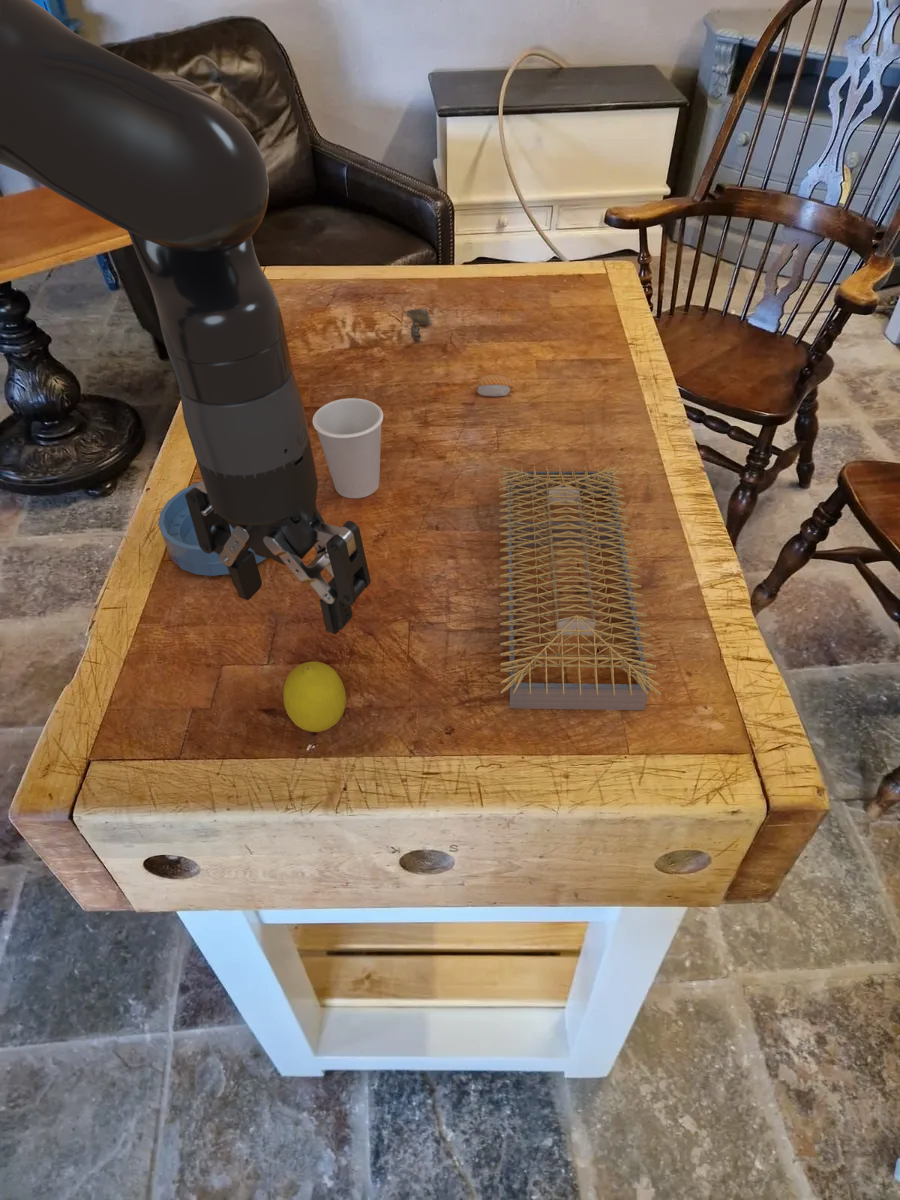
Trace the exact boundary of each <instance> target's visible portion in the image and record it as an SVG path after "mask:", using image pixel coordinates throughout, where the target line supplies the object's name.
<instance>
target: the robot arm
mask: <svg viewBox="0 0 900 1200" xmlns="http://www.w3.org/2000/svg"><path fill="white" fill-rule="evenodd" d="M0 165H2V166H4V167H7V168H9V169H11V170H14V171H16V172H18V173H21V174H22V175H25V176H26V177H28V178H31V179H32V180H34V181H36V183H39V184H41V185H42V186H44V187H45V188H47V189H49V190H51V191H52V192H54V193H56V194H57V195H59V196H61V197H63V198H65V199H67V200H68V201H70V202H72V203H74V204H76V205H78V206H79V207H81V208H83V209H85V210H87V211H89V212H91V213H92V214H95V215H96V216H98V217H100V218H102V219H103V220H106V221H107V222H110V223H112V224H113V225H116V226H117V227H120V228H121V229H123V230H125V231H127V233H128V236H129V239H130V241H131V243H132V246H133V249H134V251H135V254H136V256H137V259H138V262H139V264H140V266H141V269H142V271H143V274H144V276H145V278H146V281H147V283H148V285H149V288H150V291H151V294H152V296H153V301H154V304H155V305H154V306H155V309H156V313H157V317H158V321H159V326H160V331H161V335H162V339H163V343H164V346H165V348H166V352H167V355H168V359H169V362H170V365H171V368H172V372H173V374H174V378H175V380H176V384H177V386H178V392H179V396H180V402H181V408H182V414H183V421H184V424H185V428H186V431H187V435H188V437H189V440H190V443H191V446H192V450H193V453H194V456H195V459H196V463H197V465H198V469H199V472H200V475H201V479H202V480H201V481H199V482H200V483H198V482H197V483H198V484H197V485H196V486H195V487H194V488H192V489H191V490H190V491H189V492H188V493H186V495H185V498H186V501H187V504H188V508H189V511H190V515H191V518H192V522H193V525H194V529H195V532H196V536H197V539H198V543H199V546H200V548H201V549H202V550H203V551H204V552H206V553H208V554H210V553H212V552H213V551H214V552H216V553H217V554H219V559H220V561H221V562H222V563H223V564H224V565H226V566H227V567H228V570H229V573H230V574H229V578H230V579H231V583H232V586H233V587H234V589H235V590H236V592H237V596H238V598H240V599H243V600H245V601H249V600H251V598H253V596H255V595H256V594H257V592H259V590H260V589H261V587H262V585H263V581H262V577H261V574H260V573H261V572H260V570H259V567H258V564H257V563H256V559H255V556H254V552H255V554H256V555H258V556H261V557H266V559H272V560H273V561H275V562H277V563H279V564H281V565H284V566H286V567H287V568H288V570H290V572H291V573H292V574H293V576H295V578H296V579H297V580H298V581H299V582H300V583H302V584H309V585H310V587H311V588H312V589H313V590H314V591H315V593H316V594H317V595H318V596H319V598H320V599H319V604H320V608H321V614H322V618H323V623H324V628H325V631H326V632H328V633H331V634H333V635H337V634H338V633H339V632H340V631H342V630H343V629H344V628H345V627H346V626H347V624H348V623H349V622H350V620H351V619H352V617H353V610H352V606H353V605H354V604H355V602H356V601H357V599H358V598H359V597H360V595H362V593H363V592H364V591H365V589H368V587H369V585H370V584H371V583H372V582H371V581H372V580H371V577H370V571H369V567H368V562H367V557H366V553H365V547H364V543H363V539H362V534H361V530H360V527H359V526H358V524H357V523H355V522H354V521H352V520H347V521H345V522H344V524H342V526H337V525H333V524H329V523H327V522H325V520H324V519H323V516H322V515H321V513H320V512H319V510H318V508H317V504H316V503H317V493H318V488H319V487H318V486H319V482H318V475H317V470H316V464H315V459H314V453H313V448H312V443H311V437H310V433H309V428H308V427H309V426H308V422H307V417H306V413H305V412H306V411H305V407H304V401H303V398H302V394H301V391H300V388H299V385H298V383H297V380H296V376H295V374H294V370H293V366H292V360H291V355H290V354H291V353H290V350H289V344H288V340H287V334H286V329H285V324H284V321H283V320H284V319H283V315H282V311H281V308H280V304H279V301H278V299H277V295H276V293H275V290H274V289H273V286H272V285H271V283H270V281H269V280H268V278H267V276H266V275H265V273H264V271H263V269H262V267H261V265H260V262H259V260H258V258H257V255H256V251H255V247H254V242H253V237H252V236H253V235H254V234H255V233H256V231H257V230H258V229H259V227H260V225H261V224H262V222H263V219H264V217H265V216H266V215H265V214H266V213H267V208H268V203H269V194H270V183H269V176H268V171H267V167H266V163H265V160H264V158H263V155H262V152H261V151H260V148H259V146H258V144H257V142H256V140H255V139H254V137H253V136H252V134H251V133H250V131H249V130H248V129H247V127H246V126H245V125H244V124H243V123H242V121H240V119H239V118H237V116H235V114H233V113H232V112H231V111H229V109H227V108H226V107H225V106H224V105H222V103H220V102H218V100H216V99H215V98H214V97H213V96H211V95H210V94H209V93H208V92H206V91H205V90H204V89H203V88H201V87H199V86H198V85H196V84H195V83H194V82H191V81H189V80H188V79H185V78H183V77H180V76H178V75H174V74H171V73H164V72H151V71H149V70H147V69H145V68H144V67H141V66H139V65H137V64H135V63H134V62H131V61H129V60H127V59H125V58H124V57H122V56H120V55H117V54H116V53H114V52H112V51H110V50H108V49H106V48H104V47H102V46H100V45H98V44H96V43H94V42H92V41H90V40H88V39H86V38H84V37H83V36H81V35H79V34H77V33H76V32H75V31H73V30H71V29H70V28H69V27H67V26H66V25H65V24H64V23H63V22H61V21H60V20H59V19H58V18H56V17H55V16H54V15H53V14H52V13H50V12H49V11H48V10H46V9H45V8H44V7H42V6H40V5H39V4H38V3H37V2H35V1H33V0H0ZM229 524H230V525H231V527H232V528H233V529H234V530H233V532H232V535H231V530H230V526H229ZM213 525H214V527H215V528H214V529H213V530H212V531H211V528H212V526H213ZM249 548H251V549H252V550H253V551H254V552H252V551H249V550H248V549H249ZM312 548H314V549H315V551H316V555H315V557H314V558H313V559H312V560H311V561H310V562H309V564H308V565H306V563H305V562H304V561H303V560H302V559H303V558H305V557H306V555H308V553H309V552H310V551H311V549H312ZM323 570H326V572H327V573H328V574H329V575H330V577H331V580H329V581H328V582H327V581H326V580H325V578H324V577H323V576H322V572H323Z"/></svg>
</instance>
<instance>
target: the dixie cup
mask: <svg viewBox="0 0 900 1200" xmlns="http://www.w3.org/2000/svg"><path fill="white" fill-rule="evenodd" d="M383 420H384V412H383V409H382V408H381V406H379V405H377V404H376V403H375V402H373V401H370V400H367V399H364V398H358V397H357V398H356V397H351V398H341V399H336V400H333V401H330V402H327V403H326V404H324V405H322V406H321V407H320V408H319V409H317V410H316V412H315V413H314V414H313V417H312V426H313V428H314V430H316V432H317V436H318V439H319V442H320V445H321V448H322V451H323V454H324V457H325V461H326V464H327V467H328V470H329V473H330V476H331V479H332V483H333V486H334V489H335V491H336V493H337V494H338V495H340V496H342V497H344V498H348V499H361V498H366V497H368V496H371V495H373V494H374V493H375V492H377V490H378V489H379V487H380V479H381V450H382V449H381V448H382V423H383Z"/></svg>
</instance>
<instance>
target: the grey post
mask: <svg viewBox="0 0 900 1200" xmlns="http://www.w3.org/2000/svg"><path fill="white" fill-rule="evenodd" d="M406 314H407V315H408V316H409V317H410V318H411V319H412V325H411V327H410V334H411V336H410V337H411V338H412V339H413V340H414V341H416V342H419V341H421V339H422V337H421V334H420V332H419V330H420V326H425V325H431V324H432V323H433V322H432V320H431V317H430V315H429V312H428V310H427V308H415V309H409V310H406Z"/></svg>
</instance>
